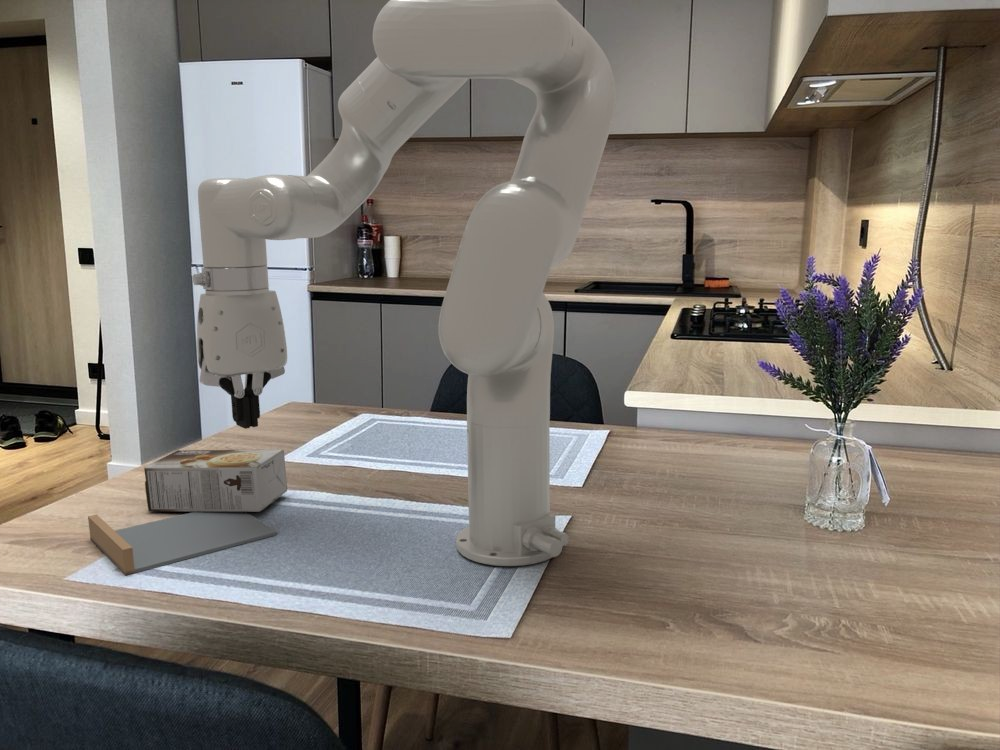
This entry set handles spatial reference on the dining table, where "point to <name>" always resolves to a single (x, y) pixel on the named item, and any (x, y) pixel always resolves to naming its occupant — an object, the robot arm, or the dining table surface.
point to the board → (175, 538)
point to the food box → (216, 480)
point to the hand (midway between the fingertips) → (247, 425)
